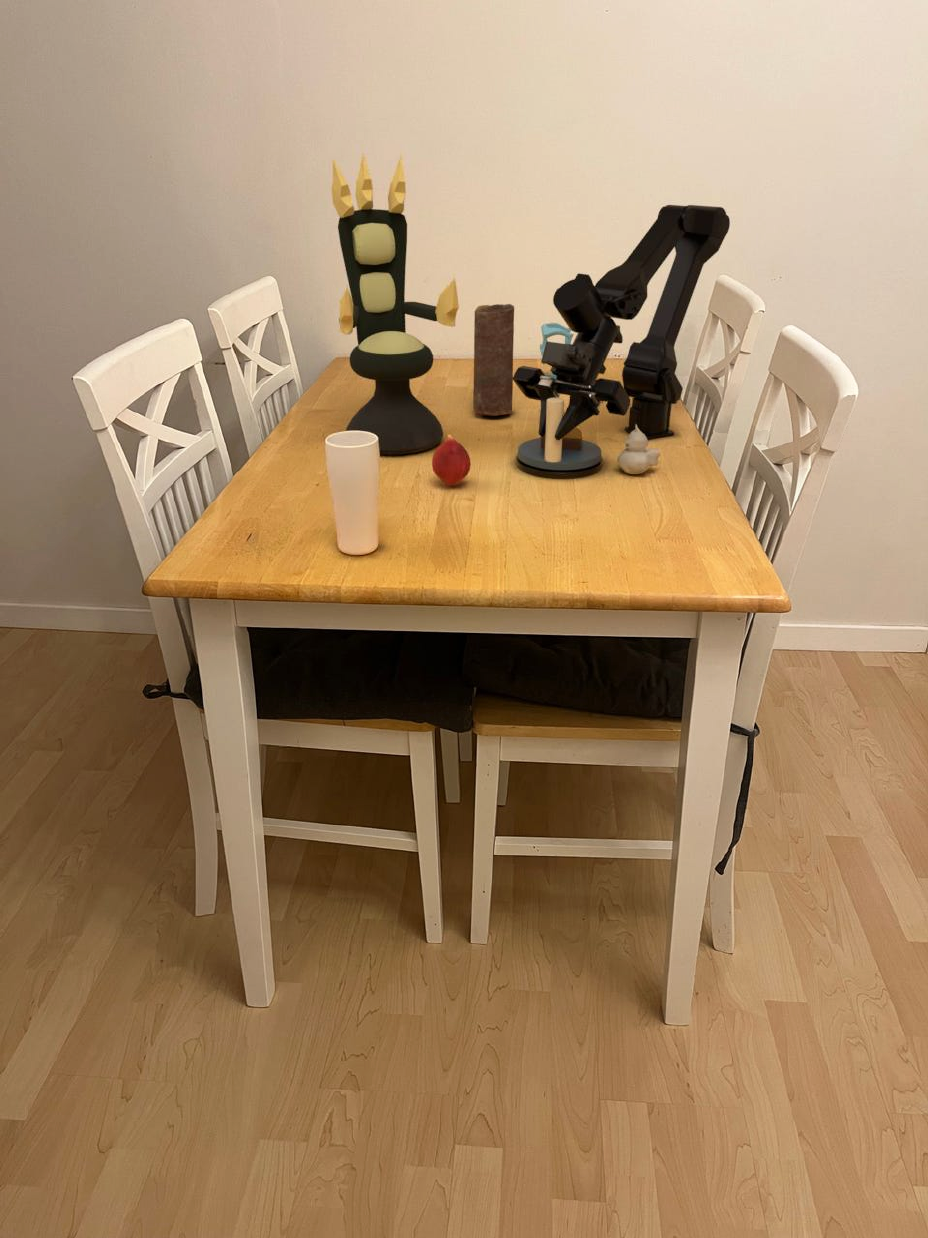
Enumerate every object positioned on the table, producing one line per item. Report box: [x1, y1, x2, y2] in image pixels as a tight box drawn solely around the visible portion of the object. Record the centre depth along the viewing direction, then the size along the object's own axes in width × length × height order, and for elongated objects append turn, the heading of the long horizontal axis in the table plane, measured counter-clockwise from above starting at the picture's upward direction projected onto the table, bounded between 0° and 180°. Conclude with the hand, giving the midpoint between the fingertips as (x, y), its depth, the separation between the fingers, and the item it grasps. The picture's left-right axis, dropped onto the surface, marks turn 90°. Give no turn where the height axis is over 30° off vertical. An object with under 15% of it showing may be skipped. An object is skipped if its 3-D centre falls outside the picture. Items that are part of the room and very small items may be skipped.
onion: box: [431, 434, 471, 487], centre depth 146 cm, size 6×6×8 cm
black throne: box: [330, 152, 460, 456], centre depth 157 cm, size 19×22×45 cm
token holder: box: [517, 397, 602, 470], centre depth 153 cm, size 13×13×11 cm
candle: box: [472, 303, 515, 417], centre depth 176 cm, size 8×7×20 cm
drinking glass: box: [324, 430, 381, 556], centre depth 123 cm, size 7×7×15 cm
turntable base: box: [515, 454, 604, 480], centre depth 156 cm, size 14×14×1 cm
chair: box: [539, 322, 575, 380], centre depth 199 cm, size 8×8×12 cm
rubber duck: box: [617, 425, 661, 475], centre depth 151 cm, size 5×7×8 cm
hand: (548, 437), depth 148 cm, fingers closed on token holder, 2 cm apart
